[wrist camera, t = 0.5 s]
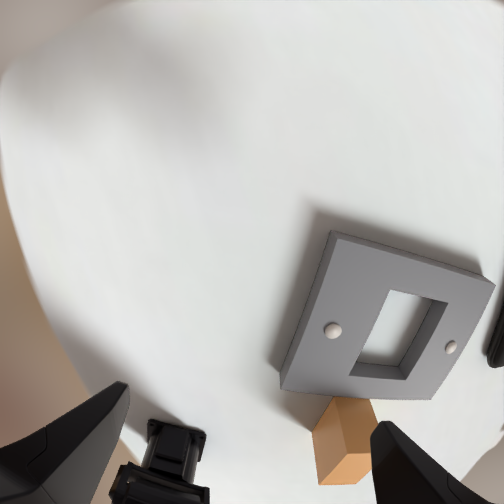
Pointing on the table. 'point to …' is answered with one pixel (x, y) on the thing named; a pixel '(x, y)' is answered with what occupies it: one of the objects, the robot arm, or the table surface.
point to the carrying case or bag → (497, 344)
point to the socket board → (366, 313)
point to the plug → (344, 441)
